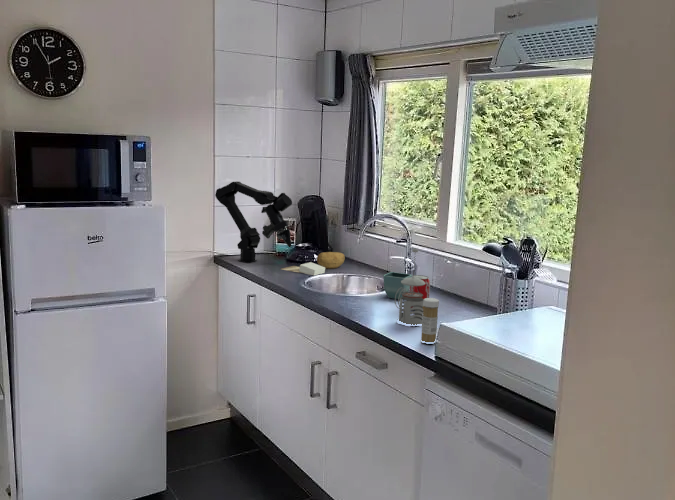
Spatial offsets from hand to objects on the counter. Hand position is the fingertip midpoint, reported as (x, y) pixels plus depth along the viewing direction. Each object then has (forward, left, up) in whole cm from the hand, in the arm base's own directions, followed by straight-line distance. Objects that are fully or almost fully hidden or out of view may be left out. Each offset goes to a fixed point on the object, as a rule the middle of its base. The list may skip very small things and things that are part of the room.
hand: (290, 246), depth 281 cm
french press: (+80, -41, -10) cm, 91 cm away
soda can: (+75, -23, -10) cm, 80 cm away
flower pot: (+61, -13, -10) cm, 64 cm away
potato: (+13, +14, -10) cm, 22 cm away
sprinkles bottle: (+94, -56, -10) cm, 110 cm away
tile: (+10, -2, -7) cm, 13 cm away
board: (+6, -1, -10) cm, 12 cm away
